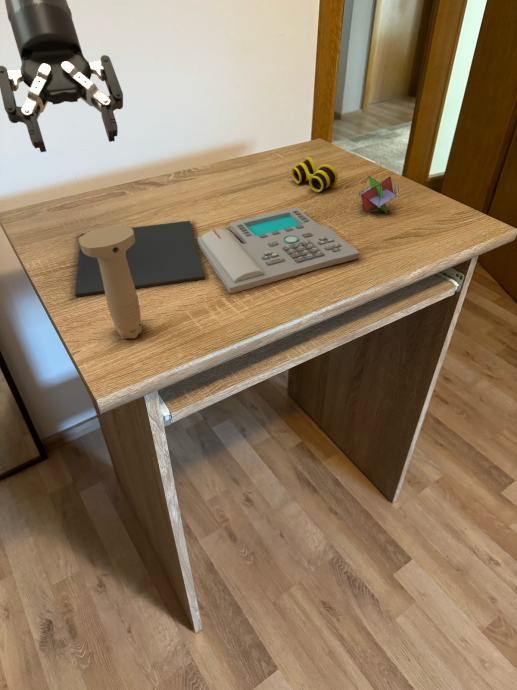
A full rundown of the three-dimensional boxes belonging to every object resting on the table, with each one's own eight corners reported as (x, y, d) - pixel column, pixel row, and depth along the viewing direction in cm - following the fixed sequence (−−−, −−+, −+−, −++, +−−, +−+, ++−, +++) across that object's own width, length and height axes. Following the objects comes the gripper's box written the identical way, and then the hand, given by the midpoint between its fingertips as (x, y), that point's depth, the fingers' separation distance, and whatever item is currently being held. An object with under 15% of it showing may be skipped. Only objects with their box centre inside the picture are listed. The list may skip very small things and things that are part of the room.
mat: (75, 297, 75) (74, 294, 74) (81, 236, 89) (80, 233, 89) (204, 279, 78) (204, 276, 77) (190, 223, 93) (189, 220, 92)
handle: (159, 333, 67) (139, 235, 58) (115, 351, 65) (87, 252, 55) (144, 316, 71) (123, 220, 61) (102, 332, 68) (73, 235, 58)
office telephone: (229, 281, 73) (187, 225, 87) (230, 295, 74) (189, 238, 88) (361, 245, 80) (302, 198, 93) (359, 258, 81) (301, 211, 95)
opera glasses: (290, 184, 108) (287, 163, 104) (308, 173, 109) (305, 152, 106) (321, 198, 102) (319, 176, 98) (339, 187, 103) (337, 165, 100)
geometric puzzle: (363, 212, 90) (390, 173, 87) (343, 198, 95) (369, 161, 92) (385, 227, 94) (412, 191, 92) (365, 213, 99) (390, 178, 96)
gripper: (100, 40, 68) (133, 149, 67) (-10, 49, 63) (24, 166, 63) (97, -4, 60) (134, 119, 60) (-27, 4, 56) (11, 136, 56)
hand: (77, 143), depth 61 cm, fingers open, 8 cm apart
